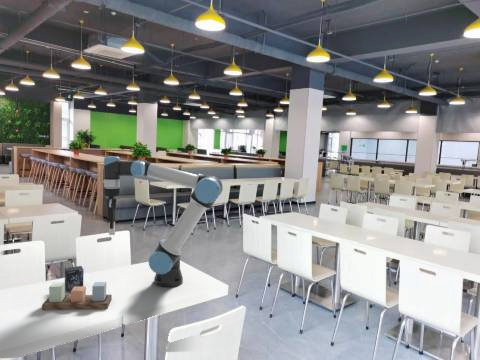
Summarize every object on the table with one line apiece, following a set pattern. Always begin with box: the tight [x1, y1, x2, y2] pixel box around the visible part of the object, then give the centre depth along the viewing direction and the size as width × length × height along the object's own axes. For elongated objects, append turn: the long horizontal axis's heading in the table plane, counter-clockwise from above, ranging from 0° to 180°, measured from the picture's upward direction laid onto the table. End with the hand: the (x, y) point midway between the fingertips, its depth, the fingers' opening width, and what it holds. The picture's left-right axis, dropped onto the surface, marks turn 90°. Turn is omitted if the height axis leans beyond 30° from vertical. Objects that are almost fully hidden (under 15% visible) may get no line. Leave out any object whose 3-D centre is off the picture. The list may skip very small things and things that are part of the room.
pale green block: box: [48, 281, 66, 303], centre depth 166 cm, size 5×5×7 cm
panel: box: [41, 294, 113, 311], centre depth 168 cm, size 27×10×2 cm, turn 99°
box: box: [64, 265, 85, 293], centre depth 186 cm, size 8×6×11 cm
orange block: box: [70, 285, 87, 302], centre depth 168 cm, size 5×5×7 cm
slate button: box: [91, 281, 107, 301], centre depth 169 cm, size 5×5×7 cm
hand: (111, 234), depth 186 cm, fingers closed
